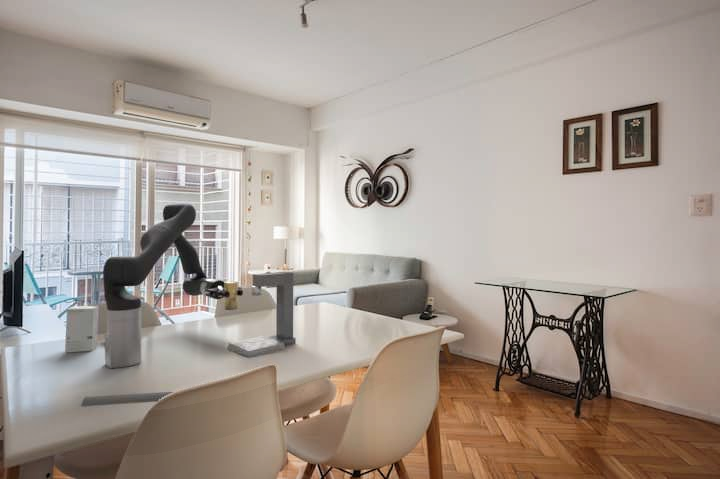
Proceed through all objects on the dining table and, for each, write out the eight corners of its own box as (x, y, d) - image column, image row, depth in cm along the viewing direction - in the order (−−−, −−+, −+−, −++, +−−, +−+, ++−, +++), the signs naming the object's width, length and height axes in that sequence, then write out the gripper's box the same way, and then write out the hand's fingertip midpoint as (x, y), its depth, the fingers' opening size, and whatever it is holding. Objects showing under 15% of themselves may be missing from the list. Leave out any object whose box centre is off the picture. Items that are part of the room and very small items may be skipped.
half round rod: (168, 402, 101) (168, 395, 101) (80, 408, 97) (80, 401, 97) (173, 396, 105) (173, 389, 105) (88, 401, 102) (88, 394, 102)
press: (248, 357, 136) (248, 278, 135) (220, 344, 150) (220, 273, 149) (300, 344, 151) (300, 273, 150) (270, 334, 165) (270, 269, 164)
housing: (228, 310, 153) (228, 283, 152) (221, 308, 156) (221, 282, 156) (240, 308, 156) (240, 282, 156) (233, 307, 160) (233, 281, 159)
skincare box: (64, 353, 139) (64, 309, 139) (71, 348, 145) (71, 305, 144) (93, 351, 141) (93, 307, 141) (99, 346, 147) (98, 304, 147)
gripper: (196, 280, 161) (216, 285, 149) (230, 277, 171) (252, 282, 159) (196, 300, 161) (216, 306, 149) (230, 295, 171) (251, 301, 159)
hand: (234, 293), depth 154 cm, fingers closed on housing, 5 cm apart
